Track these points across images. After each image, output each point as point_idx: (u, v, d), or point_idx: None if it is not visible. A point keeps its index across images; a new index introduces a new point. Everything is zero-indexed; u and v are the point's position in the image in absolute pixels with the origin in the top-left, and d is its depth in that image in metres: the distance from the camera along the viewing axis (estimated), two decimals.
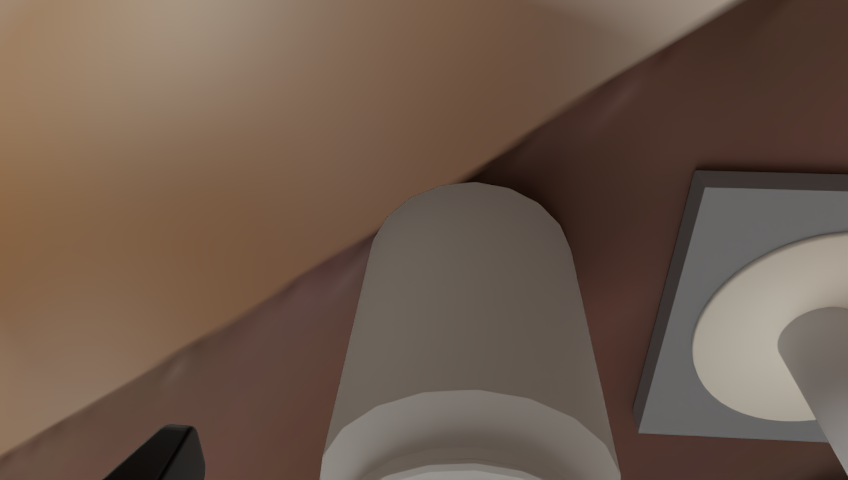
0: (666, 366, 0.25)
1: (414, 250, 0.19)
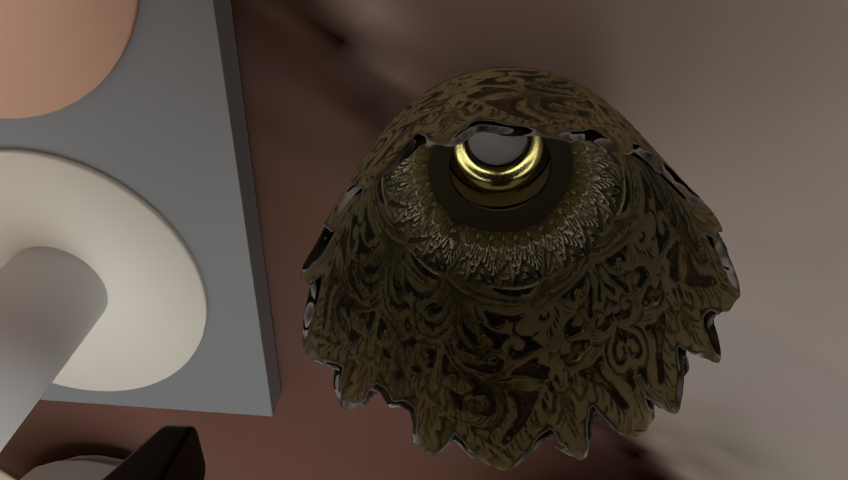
0: (160, 400, 0.23)
1: None
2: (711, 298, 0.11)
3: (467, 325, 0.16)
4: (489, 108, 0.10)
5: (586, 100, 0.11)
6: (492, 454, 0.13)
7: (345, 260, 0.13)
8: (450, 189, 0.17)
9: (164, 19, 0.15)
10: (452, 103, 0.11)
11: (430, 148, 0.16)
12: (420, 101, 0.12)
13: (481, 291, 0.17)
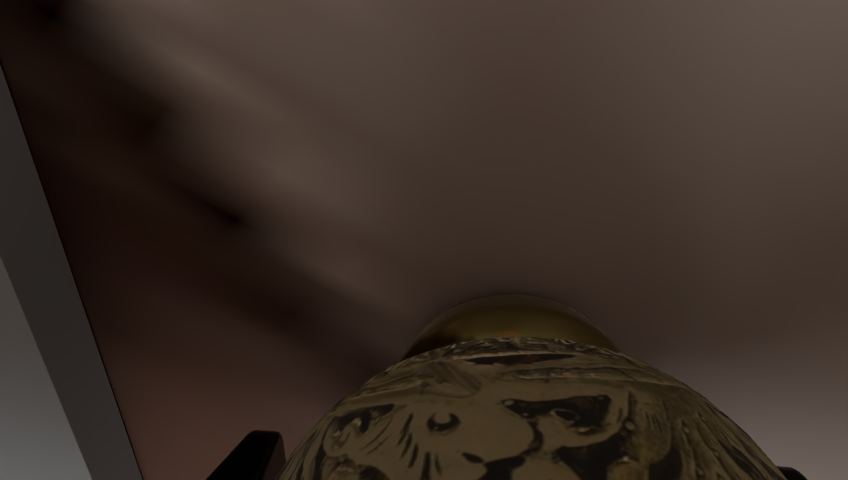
0: None
1: None
2: None
3: None
4: None
5: None
6: None
7: None
8: None
9: None
10: None
11: None
12: None
13: None
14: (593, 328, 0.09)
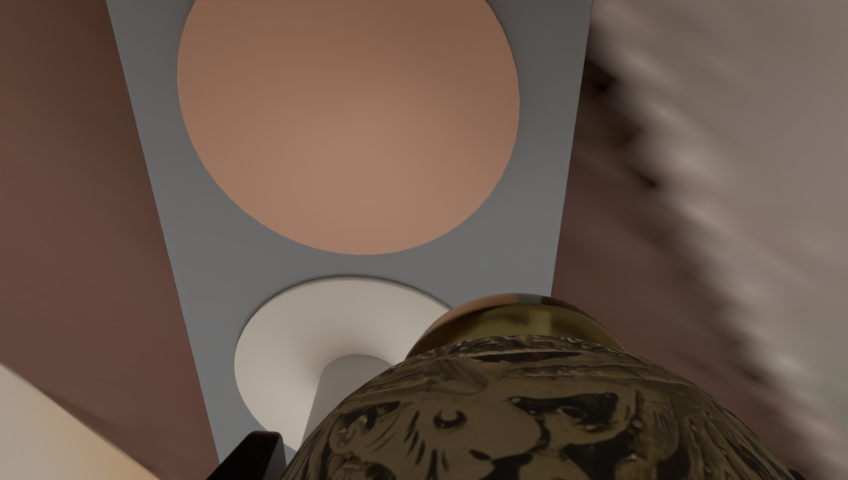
0: None
1: None
2: None
3: None
4: None
5: None
6: None
7: None
8: None
9: (522, 177, 0.18)
10: None
11: None
12: None
13: None
14: (599, 327, 0.09)
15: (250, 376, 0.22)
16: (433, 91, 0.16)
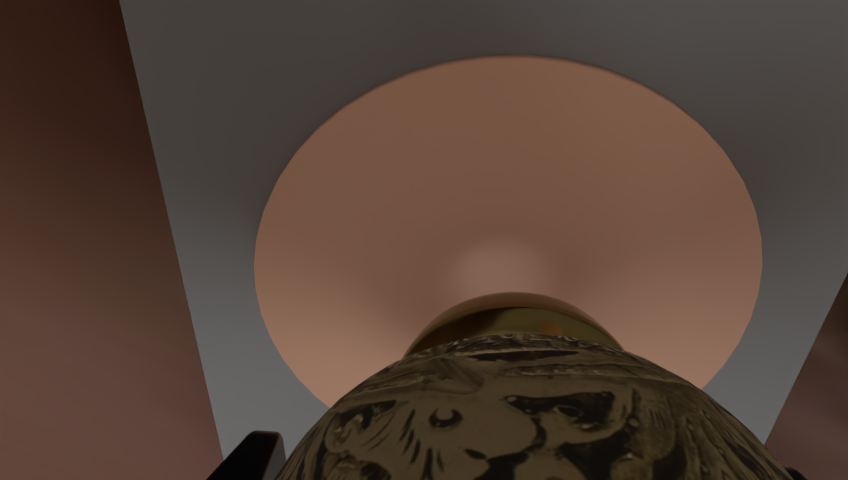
0: None
1: None
2: None
3: None
4: None
5: None
6: None
7: None
8: None
9: (730, 380, 0.13)
10: None
11: None
12: None
13: None
14: (596, 326, 0.09)
15: None
16: (632, 282, 0.11)
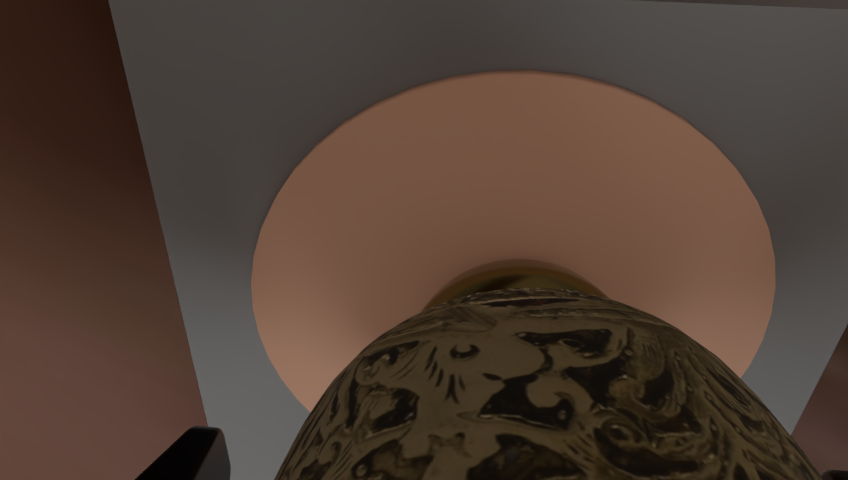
0: None
1: None
2: None
3: None
4: None
5: (737, 475, 0.05)
6: None
7: None
8: None
9: None
10: None
11: None
12: (372, 412, 0.06)
13: None
14: (594, 288, 0.10)
15: None
16: (641, 303, 0.11)
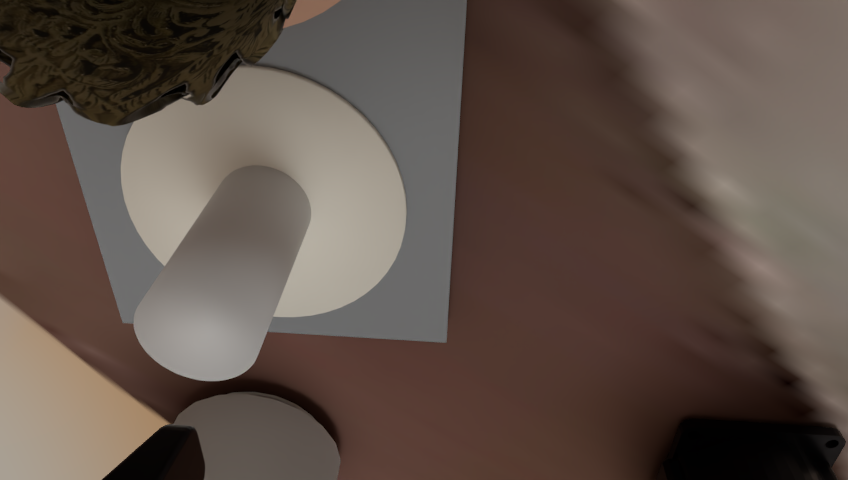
0: (337, 327, 0.23)
1: None
2: None
3: (148, 19, 0.13)
4: None
5: None
6: (104, 110, 0.10)
7: None
8: None
9: None
10: None
11: None
12: None
13: None
14: None
15: (141, 197, 0.20)
16: None
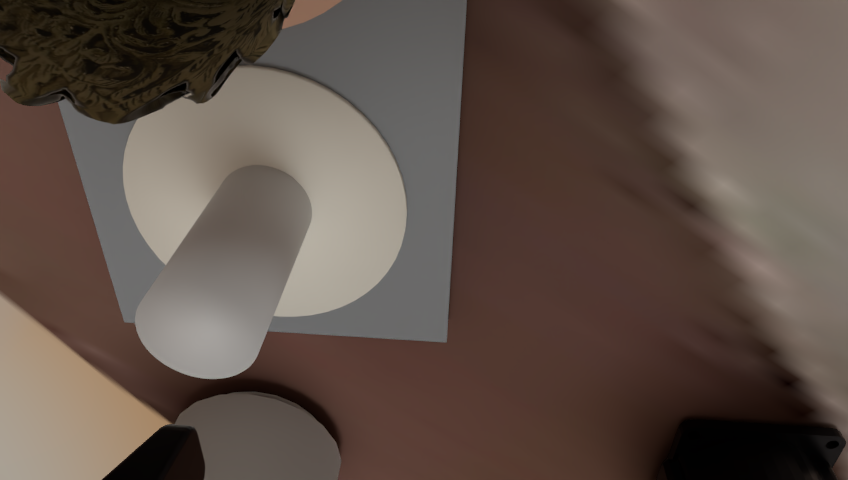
0: (338, 327, 0.23)
1: None
2: None
3: (150, 19, 0.13)
4: None
5: None
6: (105, 109, 0.11)
7: None
8: None
9: None
10: None
11: None
12: None
13: None
14: None
15: (142, 197, 0.21)
16: None
